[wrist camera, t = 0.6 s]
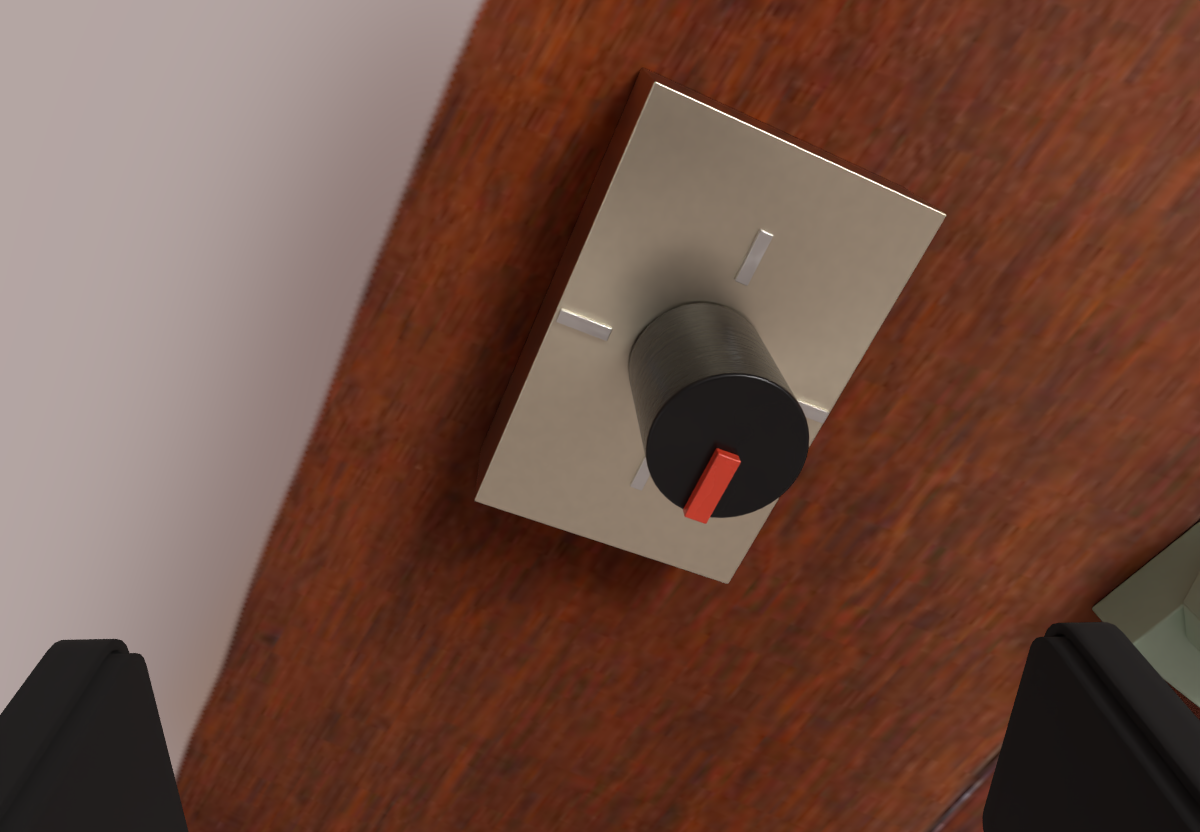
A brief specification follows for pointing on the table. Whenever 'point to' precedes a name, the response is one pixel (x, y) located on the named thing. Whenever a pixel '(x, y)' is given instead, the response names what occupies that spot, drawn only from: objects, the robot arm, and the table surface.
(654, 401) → the hob knob
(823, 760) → the table surface
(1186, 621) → the switch box
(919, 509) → the table surface
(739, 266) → the panel
